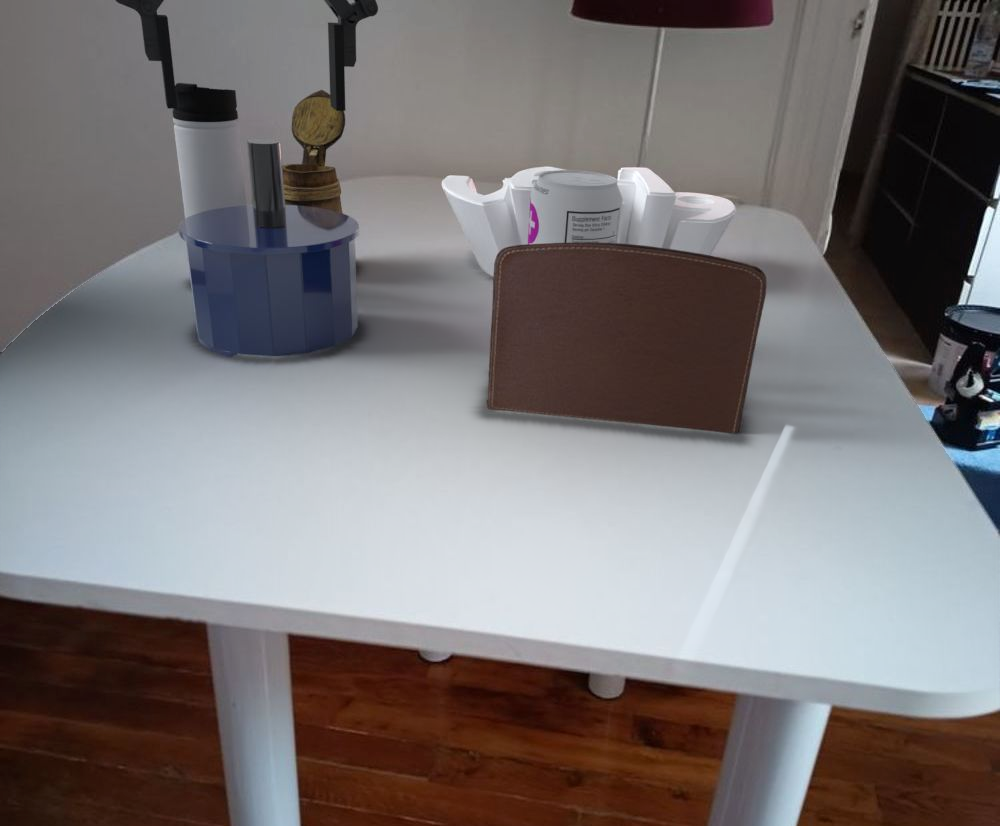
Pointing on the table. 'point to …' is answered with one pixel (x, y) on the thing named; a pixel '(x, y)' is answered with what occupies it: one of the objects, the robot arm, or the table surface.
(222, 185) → the travel mug
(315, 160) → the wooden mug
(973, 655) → the table surface
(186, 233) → the lid
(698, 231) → the wavy white extrusion
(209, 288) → the pot
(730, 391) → the letter holder
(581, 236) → the supplement can
